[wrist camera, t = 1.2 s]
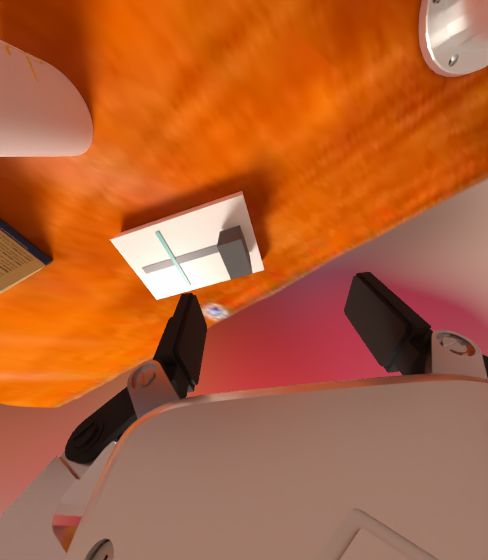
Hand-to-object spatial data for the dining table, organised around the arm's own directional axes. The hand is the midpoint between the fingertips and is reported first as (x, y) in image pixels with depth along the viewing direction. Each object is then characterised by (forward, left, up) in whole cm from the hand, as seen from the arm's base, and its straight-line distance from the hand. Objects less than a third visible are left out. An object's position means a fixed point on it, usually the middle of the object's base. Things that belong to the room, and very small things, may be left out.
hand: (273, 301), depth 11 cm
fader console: (+10, +3, -20) cm, 23 cm away
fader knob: (+3, +3, -17) cm, 17 cm away
